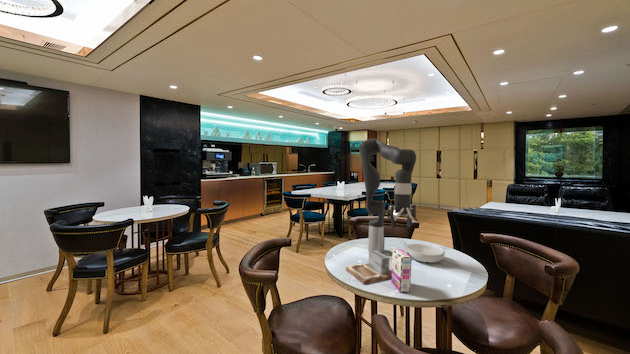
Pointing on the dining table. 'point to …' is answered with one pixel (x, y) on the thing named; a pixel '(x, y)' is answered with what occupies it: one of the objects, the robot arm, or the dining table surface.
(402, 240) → the dining table surface
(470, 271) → the dining table surface
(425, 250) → the serving bowl
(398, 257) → the candy bar box
